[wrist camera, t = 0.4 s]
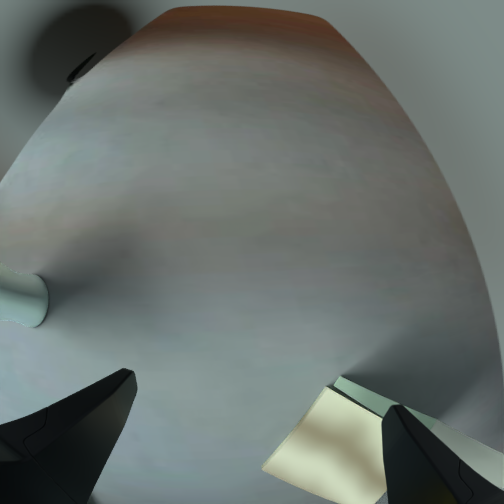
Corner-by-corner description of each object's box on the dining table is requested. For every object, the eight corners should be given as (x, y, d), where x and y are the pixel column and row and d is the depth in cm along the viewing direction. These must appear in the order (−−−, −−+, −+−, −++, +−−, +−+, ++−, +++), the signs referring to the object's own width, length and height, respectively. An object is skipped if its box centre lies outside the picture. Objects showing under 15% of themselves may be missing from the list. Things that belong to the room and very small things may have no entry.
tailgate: (417, 440, 20) (515, 491, 5) (328, 392, 22) (411, 457, 7) (426, 425, 20) (530, 466, 6) (339, 375, 22) (437, 419, 8)
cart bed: (364, 508, 18) (366, 512, 17) (261, 465, 20) (261, 469, 19) (421, 438, 20) (425, 440, 19) (325, 386, 22) (327, 387, 21)
